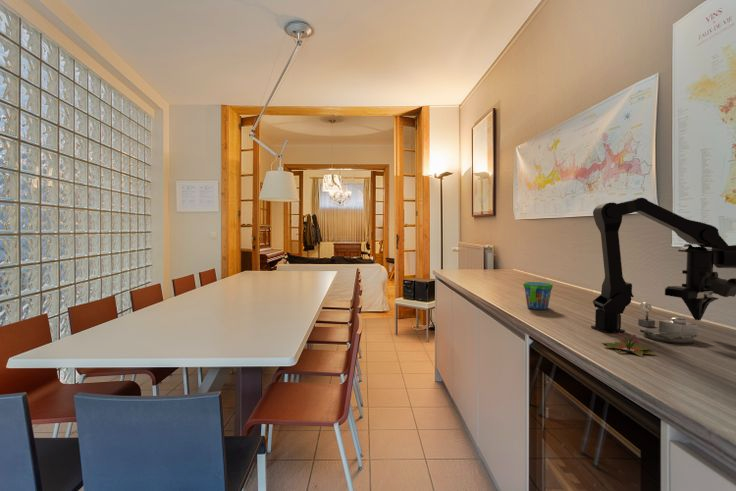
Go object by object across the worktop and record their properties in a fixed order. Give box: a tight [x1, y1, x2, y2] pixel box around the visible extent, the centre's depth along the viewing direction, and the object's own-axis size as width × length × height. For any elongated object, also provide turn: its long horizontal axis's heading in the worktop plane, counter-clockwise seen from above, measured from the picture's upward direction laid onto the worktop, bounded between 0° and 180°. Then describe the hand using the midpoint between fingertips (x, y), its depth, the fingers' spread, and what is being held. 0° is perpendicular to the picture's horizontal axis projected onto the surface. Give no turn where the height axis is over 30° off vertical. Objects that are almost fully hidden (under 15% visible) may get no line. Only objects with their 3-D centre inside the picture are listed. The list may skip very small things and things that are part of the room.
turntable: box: [639, 327, 697, 345], centre depth 100 cm, size 11×11×2 cm
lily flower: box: [603, 332, 657, 358], centre depth 90 cm, size 12×12×5 cm
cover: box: [658, 316, 699, 335], centre depth 100 cm, size 6×6×4 cm
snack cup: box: [523, 281, 554, 311], centre depth 139 cm, size 16×10×10 cm
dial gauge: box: [637, 301, 656, 328], centre depth 113 cm, size 3×3×8 cm
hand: (697, 320), depth 102 cm, fingers closed
